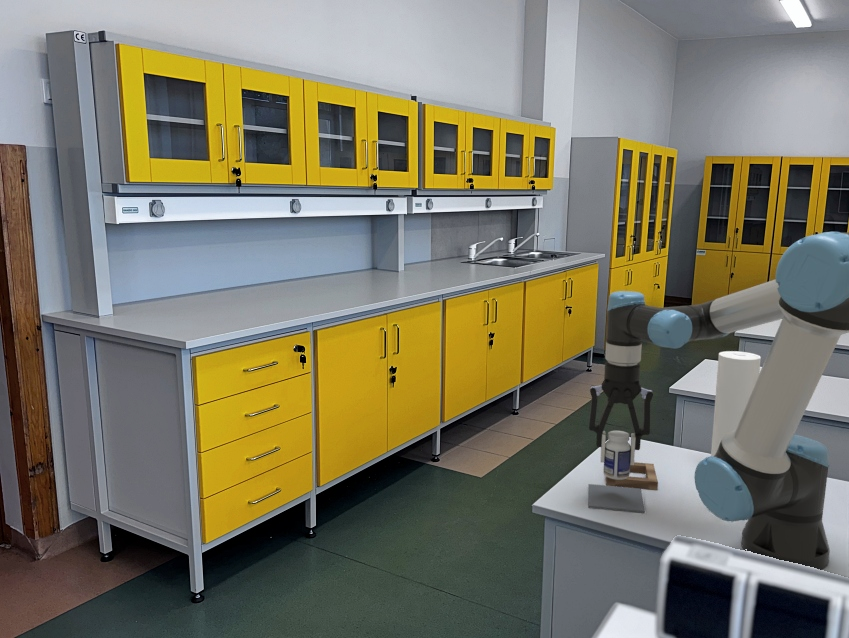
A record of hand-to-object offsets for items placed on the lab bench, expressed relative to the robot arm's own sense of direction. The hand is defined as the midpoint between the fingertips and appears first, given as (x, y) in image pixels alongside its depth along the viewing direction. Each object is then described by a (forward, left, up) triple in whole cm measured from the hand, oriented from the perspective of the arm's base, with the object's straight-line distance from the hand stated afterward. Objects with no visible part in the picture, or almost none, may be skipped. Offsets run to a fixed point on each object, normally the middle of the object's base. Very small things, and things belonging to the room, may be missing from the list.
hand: (617, 461), depth 157 cm
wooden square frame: (+13, -4, -9) cm, 16 cm away
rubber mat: (0, 0, -9) cm, 9 cm away
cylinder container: (+25, -29, -9) cm, 39 cm away
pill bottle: (0, 0, -4) cm, 4 cm away
